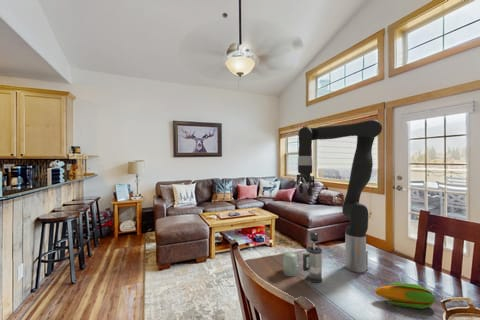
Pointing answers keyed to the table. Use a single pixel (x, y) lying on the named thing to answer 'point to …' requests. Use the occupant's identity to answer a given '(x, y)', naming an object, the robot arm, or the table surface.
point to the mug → (290, 263)
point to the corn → (407, 295)
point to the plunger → (313, 238)
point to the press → (313, 264)
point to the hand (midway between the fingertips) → (305, 194)
